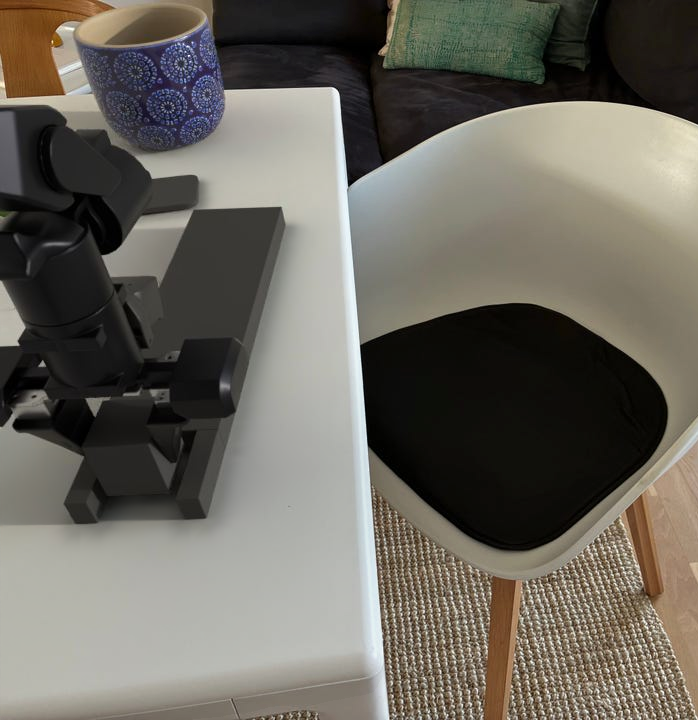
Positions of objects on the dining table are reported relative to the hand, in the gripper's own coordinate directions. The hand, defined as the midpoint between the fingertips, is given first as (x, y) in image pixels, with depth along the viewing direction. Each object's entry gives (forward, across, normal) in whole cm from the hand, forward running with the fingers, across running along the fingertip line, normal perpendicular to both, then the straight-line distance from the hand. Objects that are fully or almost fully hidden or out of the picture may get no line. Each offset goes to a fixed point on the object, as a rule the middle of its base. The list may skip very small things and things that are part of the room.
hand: (141, 459), depth 60 cm
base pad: (+3, 0, -17) cm, 17 cm away
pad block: (+1, 0, 0) cm, 1 cm away
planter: (+3, +14, -63) cm, 65 cm away
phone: (+3, +14, -44) cm, 47 cm away
